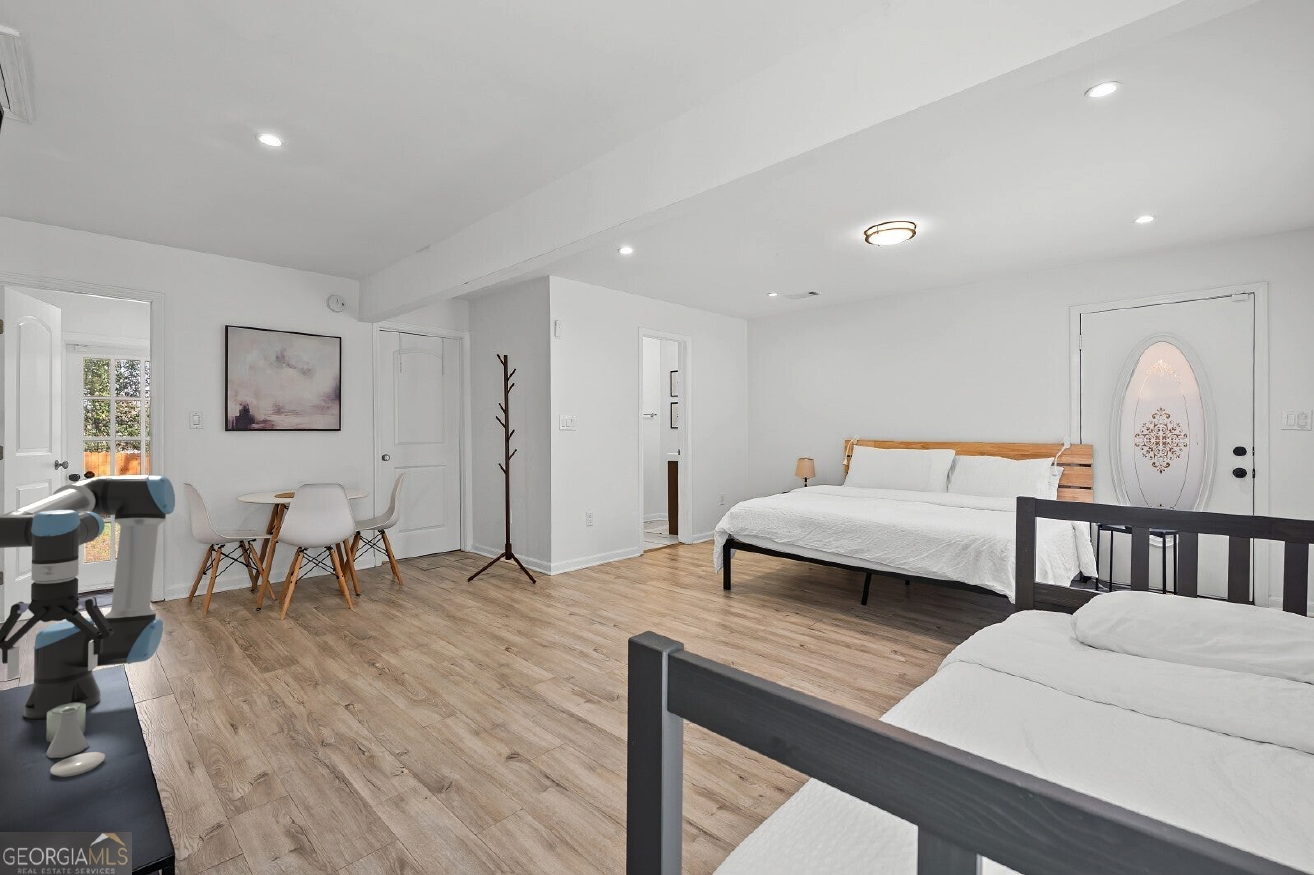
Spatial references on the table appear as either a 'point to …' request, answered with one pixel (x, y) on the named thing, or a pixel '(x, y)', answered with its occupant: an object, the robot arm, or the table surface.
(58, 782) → the table surface
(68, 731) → the flask
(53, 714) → the white cylindrical tub
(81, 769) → the dish
